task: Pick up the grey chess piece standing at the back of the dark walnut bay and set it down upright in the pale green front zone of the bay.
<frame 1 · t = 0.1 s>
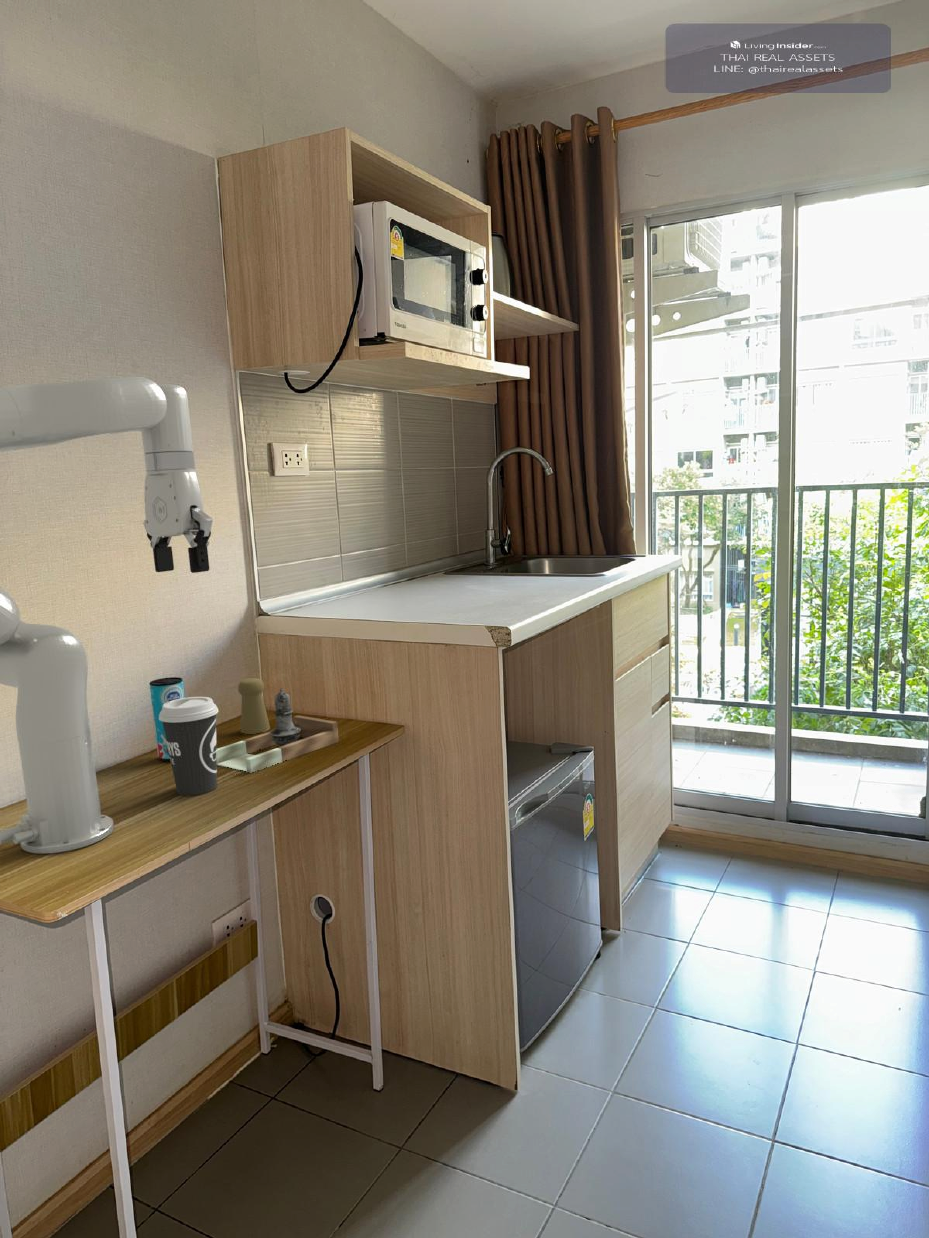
hand: (182, 571, 142), 37 cm above the table, tool pointing down, fingers open, 9 cm apart
coffee cup: (197, 790, 148), on the table
cork: (255, 731, 183), on the table
bay: (274, 753, 166), on the table
grey chess piece: (287, 750, 168), resting in bay
beverage can: (174, 758, 167), on the table
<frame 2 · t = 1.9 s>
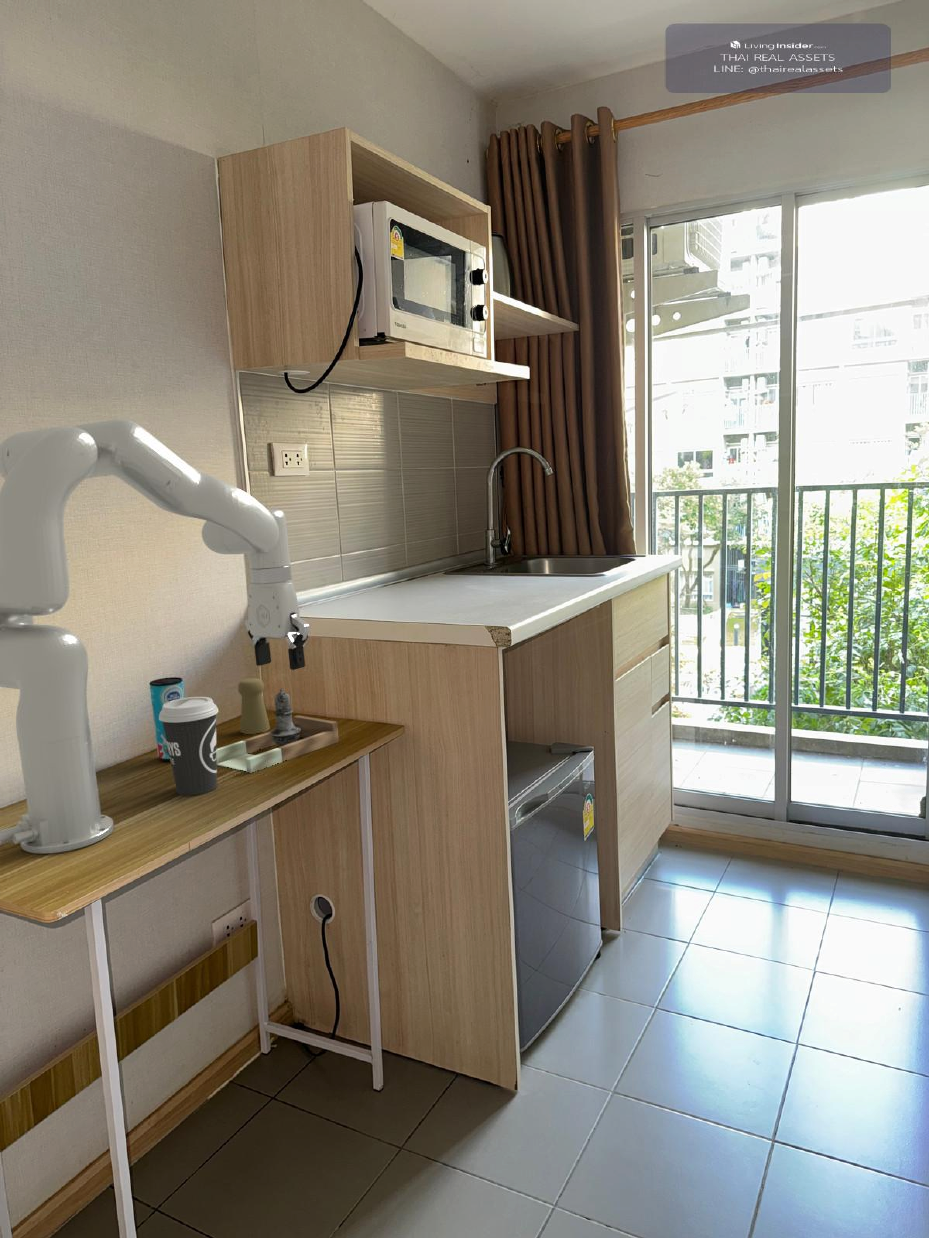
hand: (280, 666, 166), 16 cm above the table, tool pointing down, fingers open, 9 cm apart
nothing on the table moved.
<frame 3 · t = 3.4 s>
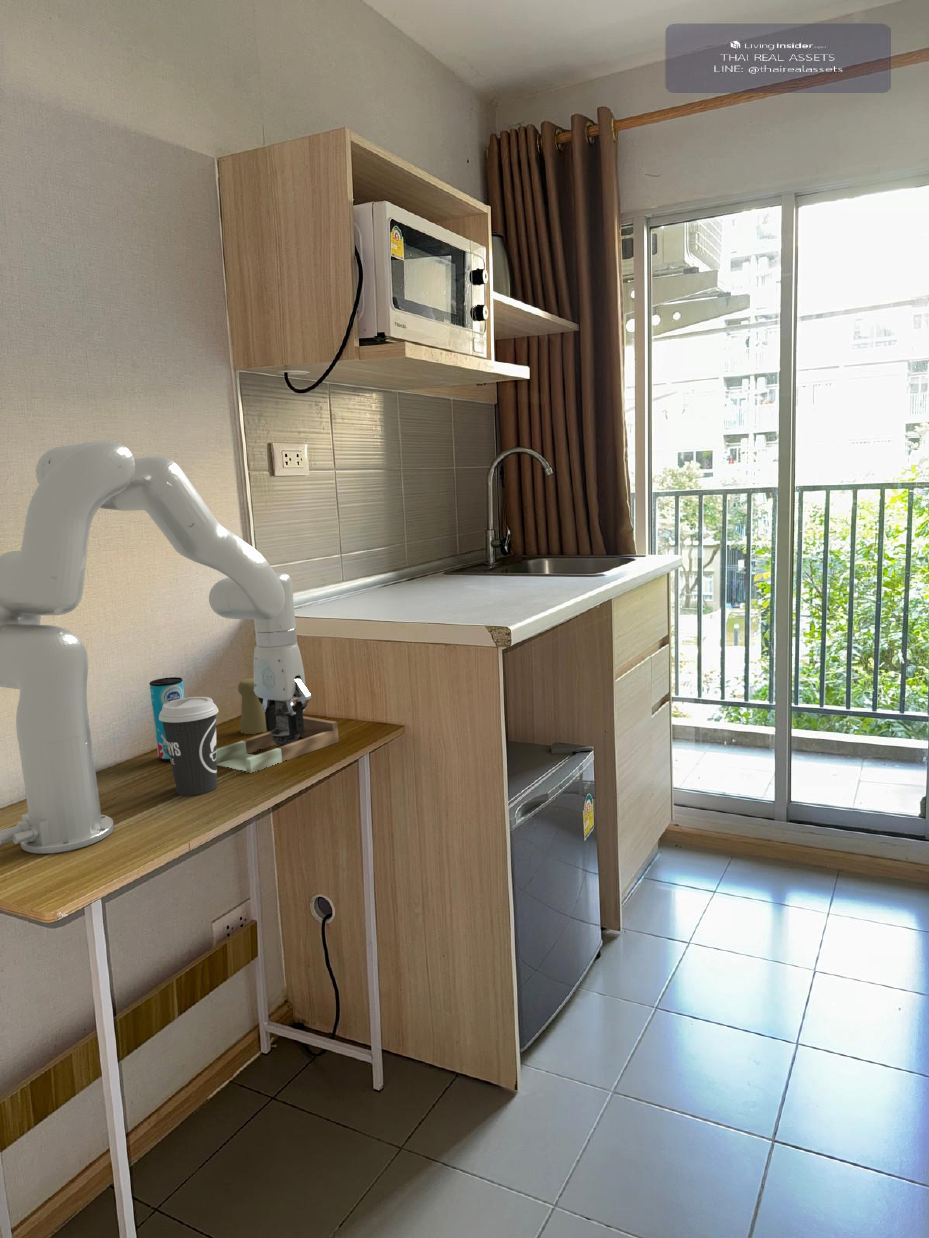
hand: (285, 730, 167), 4 cm above the table, tool pointing down, fingers closed on grey chess piece, 5 cm apart
grey chess piece: (287, 750, 168), resting in bay, touching gripper
everything else where it was.
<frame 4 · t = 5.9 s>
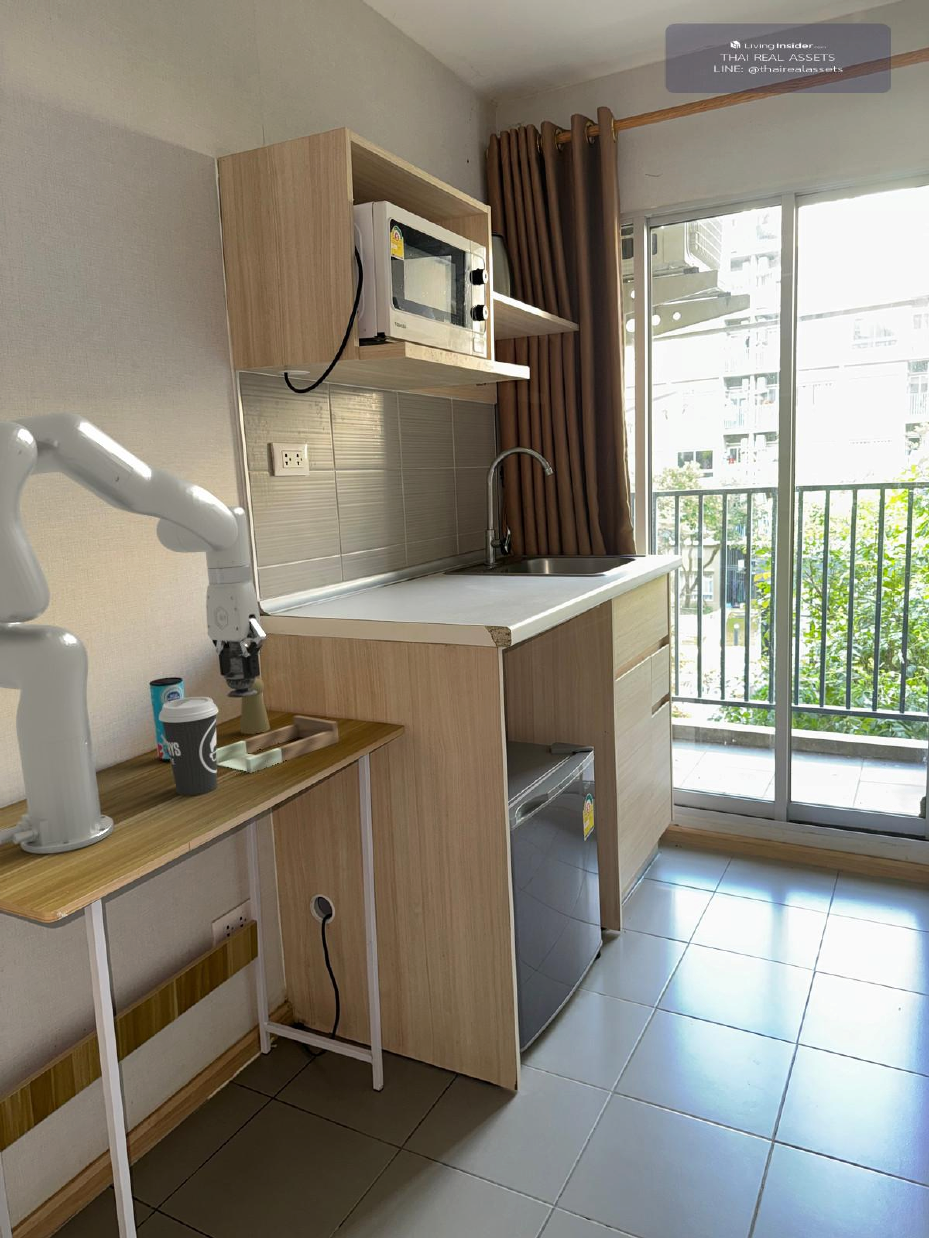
hand: (240, 674, 158), 16 cm above the table, tool pointing down, fingers closed on grey chess piece, 5 cm apart
grey chess piece: (242, 695, 159), point 13 cm above the table, touching gripper
everything else where it was.
when the fingers open (5 cm above the table, at t = 8.3 s): grey chess piece drops 1 cm, resting on bay.
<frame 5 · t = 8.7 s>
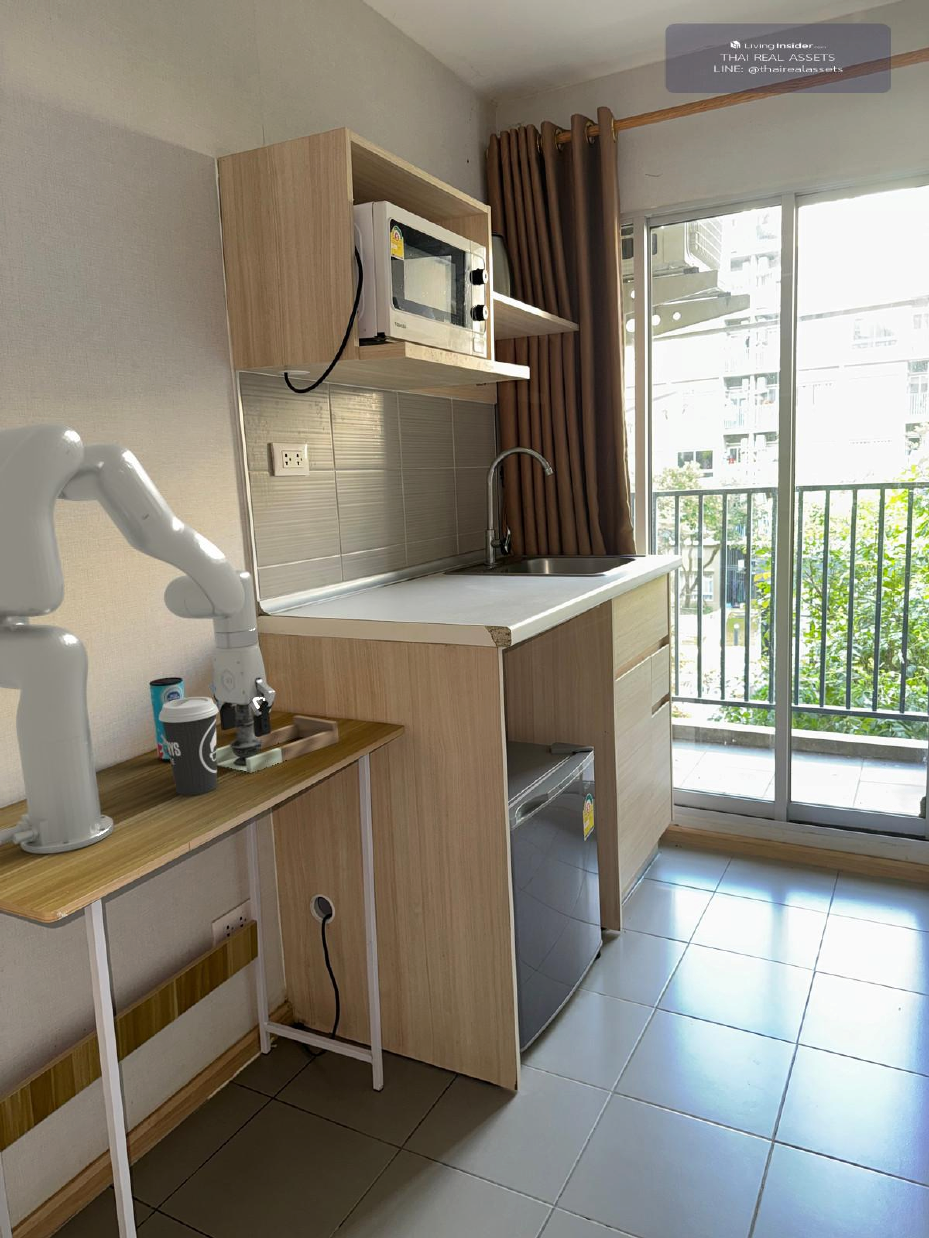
hand: (246, 731, 160), 6 cm above the table, tool pointing down, fingers open, 9 cm apart
grey chess piece: (248, 762, 161), resting on bay
everything else where it was.
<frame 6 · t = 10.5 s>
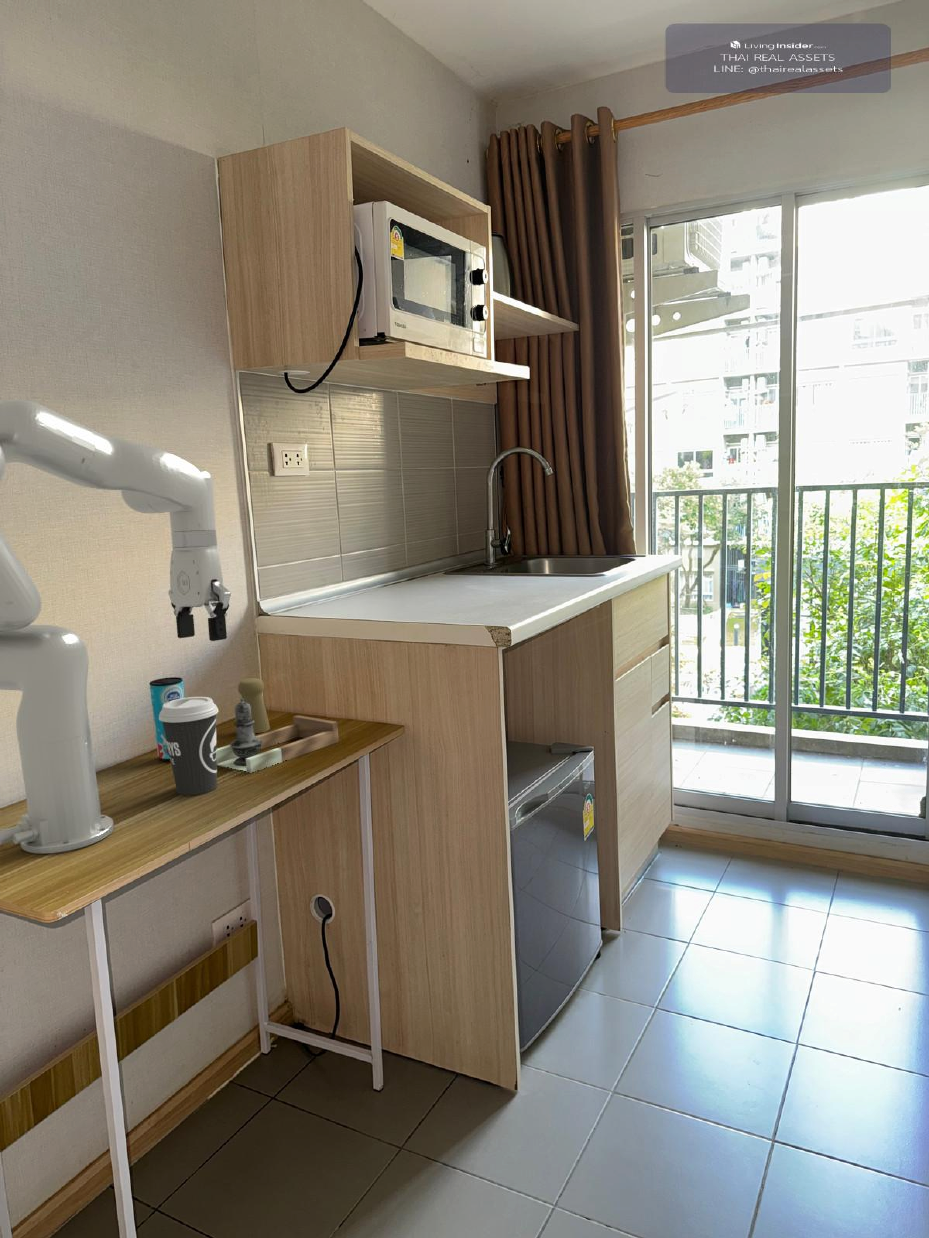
hand: (202, 638, 155), 24 cm above the table, tool pointing down, fingers open, 9 cm apart
nothing on the table moved.
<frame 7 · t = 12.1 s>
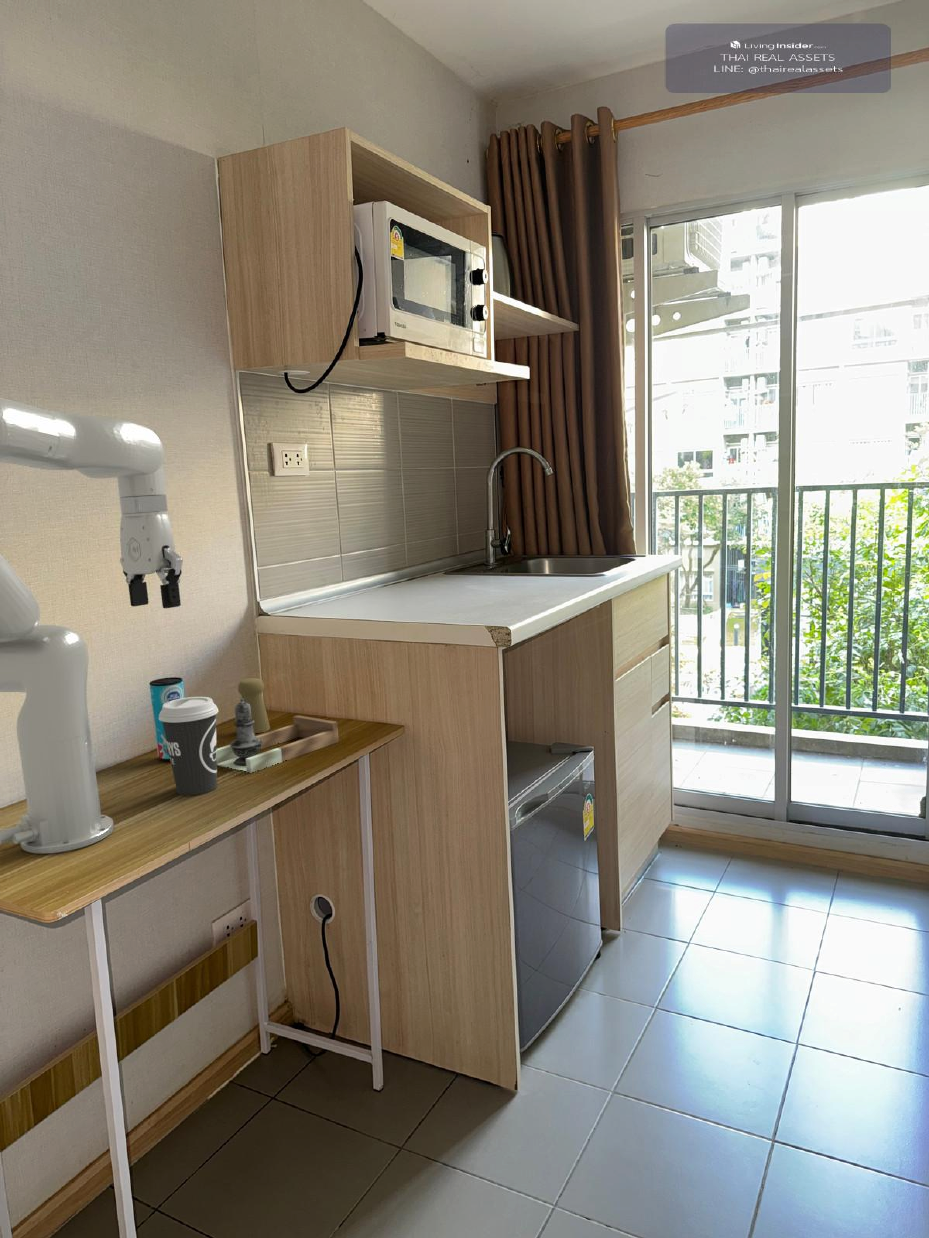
hand: (155, 606, 152), 30 cm above the table, tool pointing down, fingers open, 9 cm apart
nothing on the table moved.
at the end: grey chess piece inside the target area (0.0 cm from its centre), resting on bay; grey chess piece tilted 0°; the gripper is holding nothing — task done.
